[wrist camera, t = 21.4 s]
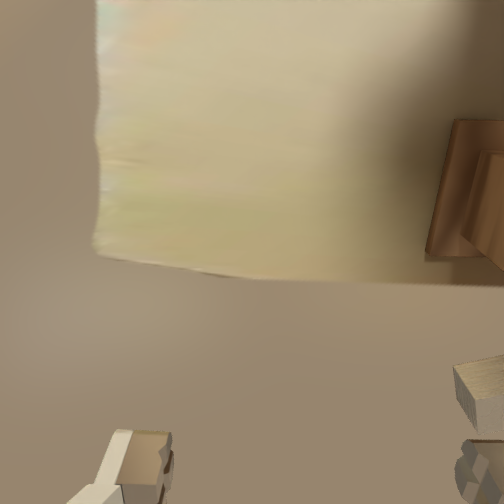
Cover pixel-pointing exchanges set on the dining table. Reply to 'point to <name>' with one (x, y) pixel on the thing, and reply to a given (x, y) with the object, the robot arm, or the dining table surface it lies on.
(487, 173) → the scale stand
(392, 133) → the dining table surface
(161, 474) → the robot arm
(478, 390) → the grey and tan bar
